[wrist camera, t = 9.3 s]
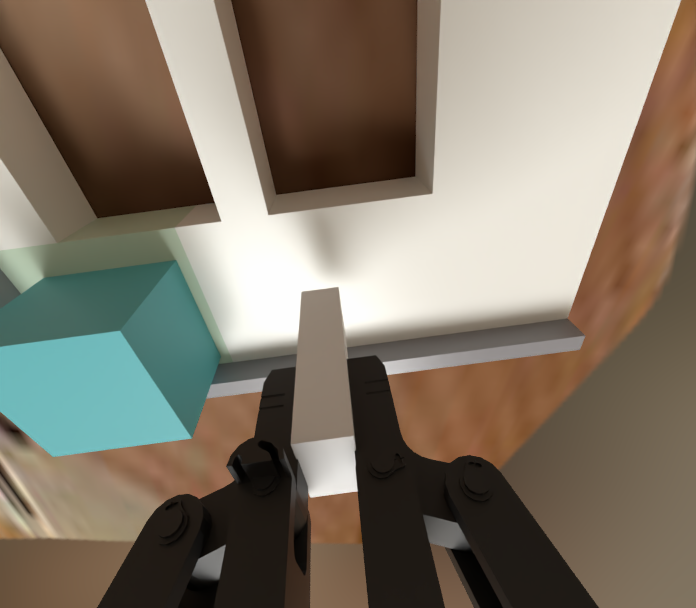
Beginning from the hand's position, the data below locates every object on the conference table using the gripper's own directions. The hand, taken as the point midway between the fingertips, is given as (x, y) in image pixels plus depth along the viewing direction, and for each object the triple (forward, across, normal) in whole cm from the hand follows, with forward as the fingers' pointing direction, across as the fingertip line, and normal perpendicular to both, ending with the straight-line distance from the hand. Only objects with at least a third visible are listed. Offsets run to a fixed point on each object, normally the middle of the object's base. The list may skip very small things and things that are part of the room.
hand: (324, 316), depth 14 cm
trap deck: (+6, -1, +4) cm, 7 cm away
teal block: (+3, -9, -1) cm, 10 cm away
